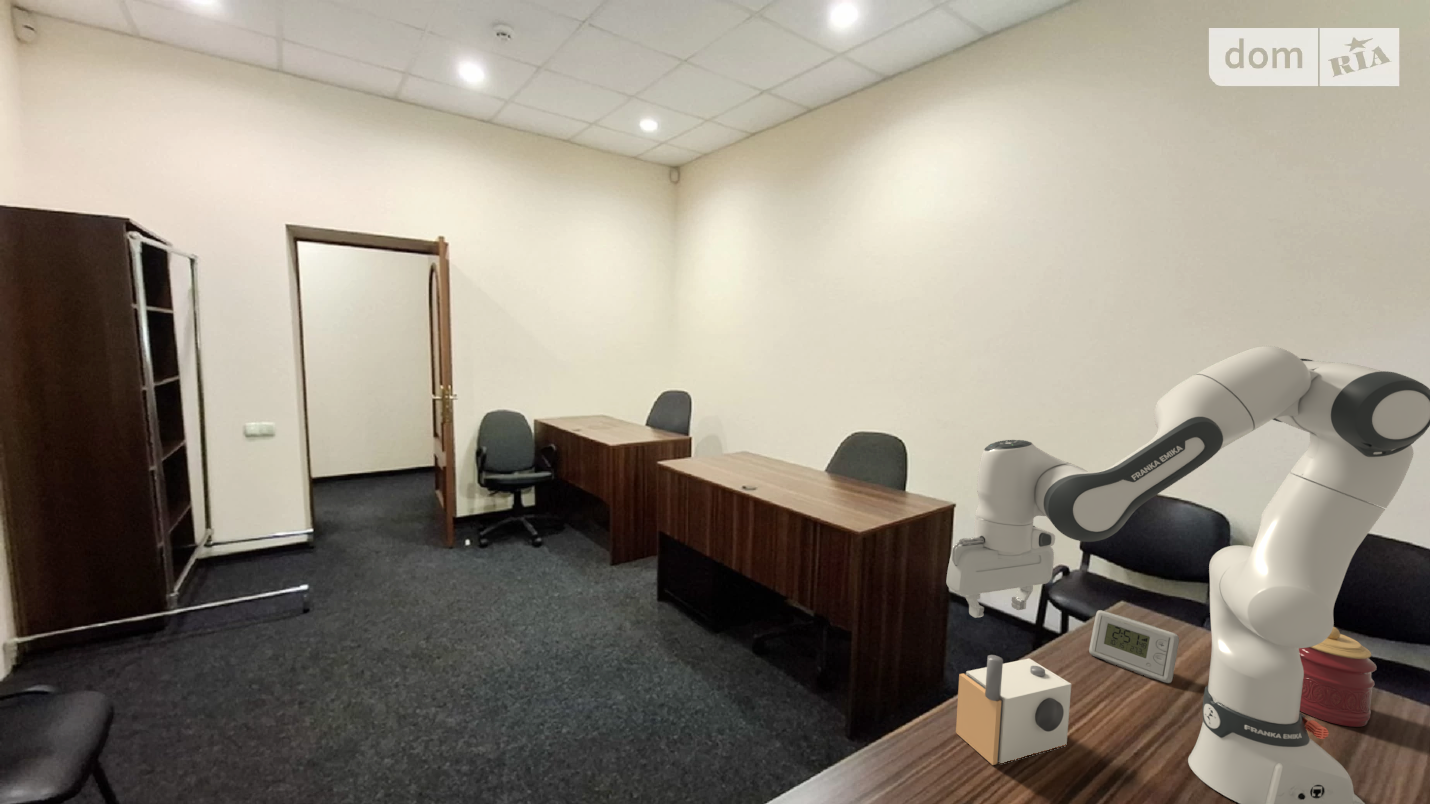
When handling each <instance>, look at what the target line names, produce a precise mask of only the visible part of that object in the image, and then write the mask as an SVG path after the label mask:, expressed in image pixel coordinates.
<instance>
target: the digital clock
mask: <svg viewBox="0 0 1430 804" xmlns="http://www.w3.org/2000/svg"><path fill="white" fill-rule="evenodd" d="M1095 613H1096V614H1095V617H1094V623H1093V627H1092V633H1091V637H1090V643H1089V649H1088V651H1089V654H1090V655H1091V656H1093V657H1096V658H1097V659H1101V660H1103V661H1105V662H1106V663H1109V664H1111V665H1113V666H1116V665H1117V667H1119V668H1122V669H1124V668H1126V670H1128V671H1129V672H1132V671H1134V672H1133V673H1136V674H1138V675H1140V676H1143V675H1144V676H1143V677H1146V678H1149V679H1155V680H1157V681H1159V682H1162V683H1165V684H1171V683H1172V681H1173V677H1174V673H1175V667H1176V662H1177V657H1178V656H1177V655H1178V654H1177V653H1178V649H1179V643H1180V637H1179V635H1177V633H1175V632H1172V631H1168V630H1165V629H1162V628H1160V627H1158V626H1156V625H1155V626H1154V625H1152V624H1148V623H1145V622H1142V621H1139V620H1136V619H1133V618H1130V617H1126V616H1123V615H1120V614H1115V613H1112V612H1108V611H1104V610H1101V609H1100V610H1097V611H1096V612H1095Z"/></svg>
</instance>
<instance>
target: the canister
mask: <svg viewBox="0 0 1430 804" xmlns="http://www.w3.org/2000/svg"><path fill="white" fill-rule="evenodd" d="M1299 653H1300V658H1301V662H1302V666H1303V670H1304V677H1303V686H1302V694H1301V703H1300V713H1302V714H1303V713H1304V714H1306V715H1308V716H1310V717H1313V718H1315V719H1318V720H1321V721H1324V722H1327V723H1331V724H1336V725H1339V726H1343V727H1345V726H1346V727H1351V728H1352V727H1354V728H1355V727H1356V728H1358V727H1359V728H1360V727H1364V726H1366V725H1368V721H1369V720H1370V719H1371V713H1372V712H1371V701H1372V696H1373V694H1372V693H1373V687H1374V686H1375V681H1374V680H1373V677H1372V673H1373V672H1375V671H1377V665H1376V663H1375V662H1373V661H1372V660H1371V659H1370V658H1371V657H1372V652H1371V651H1370V650H1369V649H1368V648H1367V647H1365V646H1363V645H1362V644H1361V643H1360V642H1359V641H1357V640H1356V639H1354V638H1352V637H1349V636H1347V635H1345V634H1342V633H1340V630H1339V629H1338V628H1337V627H1335V626H1333V629H1332V632H1331V634H1330V635H1329V636H1328V638H1327V639H1325V640H1324V641H1323V642H1321V643H1319V644H1317V645H1315V646H1312V647H1307V648H1299Z"/></svg>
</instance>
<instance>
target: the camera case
mask: <svg viewBox="0 0 1430 804" xmlns="http://www.w3.org/2000/svg"><path fill="white" fill-rule="evenodd" d="M986 674H987V666H985V667H981V668H976V669H972V670H967V671H966V672H965V675H967V676H968V677H969V678H971V679H972V680H973V681H975V682H976V683H977V684H979V685H980V686H982V687H983V688H984V689H986ZM1071 691H1072V683H1071V682H1069V681H1068V680H1065V679H1064V678H1062V677H1061V676H1059V675H1058V674H1056V673H1054V672H1052V671H1051V670H1050V669H1047V668H1046V667H1044V666H1042V665H1041V664H1039V663H1037V662H1036V661H1035V660H1033V659H1031V658H1024V659H1019V660H1015V661H1010V662H1005V663H1004V662H1003V667H1002V682H1001V697H1000V700H1001V714H1000V729H999V744H998V759H997V761H998V762H1000V763H1004V762H1007V761H1010V760H1014V759H1015V761H1017V760H1016V759H1017V758H1021V757H1024V756H1027V755H1031V754H1033V753H1038V752H1041V751H1044V750H1049V749H1052V748H1055V747H1058V746H1062V745H1065V744H1066V745H1067V742H1068V731H1069V718H1070V706H1071V693H1072V692H1071ZM998 762H997V763H998ZM1000 763H999V764H1000ZM1004 764H1005V763H1004Z"/></svg>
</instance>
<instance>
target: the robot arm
mask: <svg viewBox="0 0 1430 804" xmlns="http://www.w3.org/2000/svg"><path fill="white" fill-rule="evenodd" d="M1153 414H1154V415H1153V416H1154V423H1155V425H1156V428H1157V431H1156V433H1155V434H1154V436H1153V437H1152V438H1151V439H1150V440H1148V442H1146V443H1144V444H1143V445H1142V446H1140V447H1139V448H1137V449H1136V450H1134V451H1132V452H1131V453H1130V454H1128V455H1127V456H1124V457H1123V458H1121V459H1120V460H1119V461H1117V462H1116V463H1114V464H1112V465H1111V466H1109V467H1108V468H1105V469H1102V470H1098V471H1087V470H1086V469H1084V468H1083V467H1080V466H1078V465H1075V464H1073V463H1071V462H1068V461H1066V460H1063V459H1060V458H1057V457H1055V456H1053V455H1051V454H1050V453H1047V452H1045V451H1043V450H1042V449H1040V448H1038V446H1036V445H1035V444H1034V443H1033V442H1031V441H1028V440H1023V439H1004V440H999V441H995V442H993V443H990V444H988V445H987V446H986V447H985V448H984V449H983V451H982V453H981V457H980V460H979V466H978V472H977V483H976V493H977V496H978V504H977V507H976V509H975V514H974V515H975V516H974V532H973V537H971V538H970V537H969V538H967V537H966V538H965V537H964V538H960V539H959V540H958V542H956V543H955V544H954V545H953V547H952V548H951V549H952V550H951V553H950V558H949V563H948V567H947V571H946V573H947V574H946V582H945V583H946V585H947V587H948V588H949V590H950V591H952V592H954V593H955V594H957V595H960V596H961V597H964V598H965V599H966V601H967V604H968V613H969V615H970V616H972V617H973V618H975V619H976V618H981V617H984V611H985V607H984V606H982V605H980V603H979V601H978V600H980V599H981V594H985V593H986V594H987V593H992V592H999V591H1006V590H1012V589H1017V591H1016V593H1015V596H1013V597H1011V608H1013V609H1015V610H1016V611H1023V610H1026V609H1027V601H1028V600H1029V598H1030V596H1031V594H1032V592H1033V590H1034V586H1038V585H1044V584H1045V585H1046V584H1048V583H1049V582H1050V580H1051V579H1052V577H1053V572H1054V560H1055V556H1054V553H1055V552H1054V549H1053V547H1052V546H1054V545H1055V541H1056V535H1055V534H1054V533H1053V532H1050V531H1047V530H1045V529H1043V528H1040V527H1038V526H1035V525H1034V519H1035V518H1036V517H1038V516H1039V517H1047V519H1049V521H1050V522H1051V524H1052V525H1053V526H1054V527H1055V529H1057V530H1058V532H1059V533H1061V535H1063V536H1066V537H1067V538H1069V539H1071V540H1075V541H1078V542H1084V543H1086V542H1087V543H1093V542H1098V541H1102V540H1106V539H1107V538H1110V537H1111V536H1113V535H1115V534H1116V533H1118V532H1119V530H1120V529H1122V527H1124V525H1125V524H1126V522H1128V520H1129V519H1130V517H1131V516H1132V515H1133V513H1134V512H1136V510H1137V509H1138V508H1140V507H1141V506H1142V505H1144V504H1145V503H1146V502H1147V501H1149V500H1151V499H1152V498H1154V497H1156V496H1157V495H1158V494H1160V493H1162V492H1163V491H1165V490H1166V489H1168V488H1170V486H1172V485H1174V484H1175V483H1177V482H1178V481H1180V480H1182V479H1183V478H1185V477H1186V476H1187V475H1189V474H1190V473H1192V472H1194V471H1196V470H1197V469H1198V468H1200V467H1201V466H1202V465H1204V464H1205V463H1206V462H1208V461H1209V460H1210V459H1212V458H1213V457H1214V456H1215V455H1216V454H1217V453H1219V451H1221V450H1222V449H1224V448H1225V447H1226V446H1229V445H1230V444H1232V443H1233V442H1235V441H1237V440H1239V439H1241V438H1243V437H1245V436H1246V435H1248V434H1250V433H1252V432H1254V431H1255V430H1256V429H1257V430H1258V428H1260V427H1262V426H1264V425H1265V424H1267V423H1268V422H1270V421H1272V420H1273V421H1274V422H1275V421H1276V422H1278V423H1279V422H1280V423H1283V424H1286V425H1288V426H1291V427H1293V428H1296V429H1298V430H1301V431H1305V432H1307V433H1309V444H1308V448H1307V449H1306V450H1305V451H1304V452H1303V454H1302V455H1301V456H1300V458H1299V459H1298V460H1297V461H1296V463H1295V464H1294V465H1293V467H1291V470H1290V471H1289V472H1288V474H1287V476H1286V477H1285V478H1284V479H1283V481H1282V483H1281V484H1280V486H1279V487H1278V489H1277V490H1276V491H1275V493H1273V495H1272V496H1271V497H1272V498H1271V499H1270V500H1269V502H1268V503H1267V505H1266V506H1265V508H1264V509H1263V511H1262V512H1261V516H1260V524H1259V527H1258V532H1257V534H1256V538H1255V540H1254V543H1253V546H1249V545H1242V544H1241V545H1239V544H1235V545H1230V546H1229V545H1228V546H1225V547H1223V548H1221V549H1220V550H1218V551H1216V552H1215V553H1214V554H1213V555H1212V556H1211V559H1210V561H1209V566H1208V567H1209V568H1208V569H1209V570H1208V573H1209V613H1210V614H1209V615H1210V630H1211V654H1210V655H1211V657H1210V664H1209V665H1210V666H1209V675H1208V676H1209V677H1208V685H1206V686H1204V687H1205V688H1204V691H1203V698H1202V699H1203V700H1202V723H1201V724H1202V725H1201V728H1200V731H1199V734H1198V738H1197V740H1196V743H1195V744H1194V747H1193V749H1192V750H1191V753H1190V754H1189V756H1188V758H1187V761H1188V765H1189V768H1190V769H1191V770H1192V772H1193V773H1194V774H1195V775H1196V777H1197V778H1198V779H1200V780H1201V781H1202V782H1203V783H1204V784H1206V785H1207V786H1208V787H1210V788H1211V789H1213V790H1214V791H1216V792H1218V793H1220V794H1221V795H1223V796H1224V797H1226V798H1228V799H1230V800H1232V801H1234V802H1236V803H1238V804H1366V803H1365V802H1364V801H1363V800H1362V799H1361V798H1360V797H1358V795H1356V794H1355V792H1354V785H1353V781H1352V778H1351V776H1350V774H1349V773H1348V771H1347V770H1346V768H1344V766H1343V765H1342V764H1341V763H1340V762H1339V761H1338V760H1337V759H1336V758H1334V757H1333V756H1332V755H1330V754H1329V753H1328V752H1327V751H1326V750H1325V749H1324V748H1322V747H1321V746H1320V745H1319V744H1318V743H1316V742H1315V741H1314V740H1313V739H1311V738H1310V736H1309V733H1311V734H1312V735H1314V736H1315V738H1317V739H1320V740H1325V739H1326V738H1328V737H1329V734H1330V733H1329V730H1328V728H1326V727H1325V726H1324V725H1321V724H1320V723H1319V722H1317V721H1316V720H1314V719H1312V720H1309V719H1307V718H1306V716H1305V715H1304V714H1303V713H1302V712H1301V711H1300V703H1301V694H1302V686H1303V677H1304V670H1303V666H1302V662H1301V658H1300V653H1299V648H1307V647H1312V646H1315V645H1317V644H1319V643H1321V642H1323V641H1324V640H1325V639H1327V638H1328V636H1329V635H1330V634H1331V632H1332V629H1333V627H1334V626H1335V625H1334V624H1335V623H1334V622H1335V621H1334V608H1335V603H1336V601H1337V598H1338V595H1339V593H1340V590H1341V587H1342V584H1343V581H1344V579H1345V576H1346V573H1347V571H1348V568H1349V566H1350V563H1351V562H1352V559H1353V557H1354V555H1355V553H1356V551H1357V549H1358V548H1359V546H1360V545H1361V544H1362V542H1363V541H1364V539H1365V538H1366V536H1368V534H1369V532H1370V531H1371V530H1372V528H1373V527H1374V525H1375V524H1376V523H1377V522H1378V520H1380V517H1381V516H1382V515H1383V513H1384V512H1385V511H1386V509H1387V508H1388V506H1389V505H1390V503H1391V502H1392V500H1393V499H1394V497H1395V496H1396V495H1397V492H1398V491H1399V489H1400V487H1401V486H1402V484H1403V481H1404V480H1405V478H1406V476H1407V473H1408V471H1409V468H1410V466H1411V463H1412V460H1413V458H1414V448H1413V446H1412V444H1414V443H1415V442H1417V440H1418V439H1419V438H1421V437H1422V436H1424V434H1425V433H1426V431H1427V430H1428V429H1429V428H1430V388H1429V387H1428V386H1427V385H1425V384H1424V383H1422V382H1420V381H1418V380H1417V379H1415V378H1412V377H1409V376H1406V375H1403V374H1401V373H1398V372H1394V371H1386V370H1385V371H1383V370H1379V369H1377V368H1371V367H1367V366H1364V365H1358V364H1354V363H1348V362H1331V361H1319V360H1313V359H1308V358H1300V357H1298V356H1297V355H1295V354H1294V353H1293V352H1291V351H1289V350H1286V349H1284V348H1282V347H1278V346H1272V345H1262V346H1256V347H1252V348H1250V349H1247V350H1244V351H1241V352H1239V353H1236V354H1234V355H1231V356H1228V357H1226V358H1225V359H1222V360H1220V361H1217V362H1216V363H1214V364H1212V365H1209V366H1208V367H1205V368H1203V369H1202V370H1200V371H1198V372H1196V373H1195V374H1193V375H1191V376H1189V377H1187V378H1186V379H1184V380H1182V381H1181V382H1179V383H1178V384H1176V385H1175V386H1173V387H1172V388H1171V389H1170V390H1168V391H1167V392H1166V393H1165V394H1163V395H1162V396H1161V397H1160V398H1159V399H1157V401H1156V404H1155V406H1154V413H1153ZM1308 732H1309V733H1308Z"/></svg>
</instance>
